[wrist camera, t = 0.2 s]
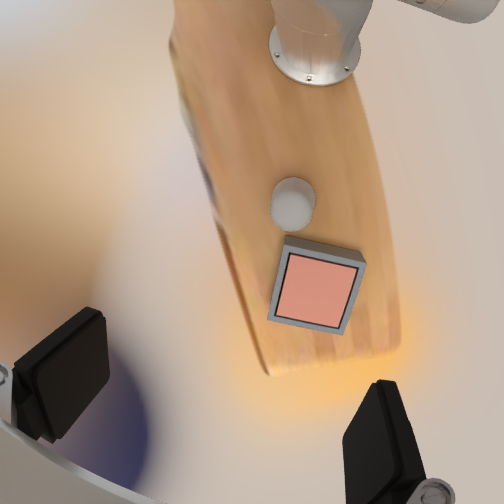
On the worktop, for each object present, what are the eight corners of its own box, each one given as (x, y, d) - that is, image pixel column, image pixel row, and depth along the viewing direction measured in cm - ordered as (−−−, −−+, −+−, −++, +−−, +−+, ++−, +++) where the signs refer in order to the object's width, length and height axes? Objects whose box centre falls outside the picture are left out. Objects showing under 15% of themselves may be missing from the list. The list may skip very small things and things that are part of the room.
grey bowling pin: (323, 195, 42) (333, 211, 29) (296, 226, 44) (294, 253, 31) (291, 167, 41) (287, 170, 29) (264, 198, 43) (249, 215, 31)
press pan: (290, 252, 41) (290, 254, 40) (355, 266, 40) (356, 269, 39) (276, 311, 43) (276, 314, 42) (337, 323, 43) (337, 327, 42)
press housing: (285, 235, 44) (284, 244, 39) (360, 252, 43) (366, 263, 38) (270, 304, 48) (266, 319, 43) (339, 318, 47) (342, 335, 42)
